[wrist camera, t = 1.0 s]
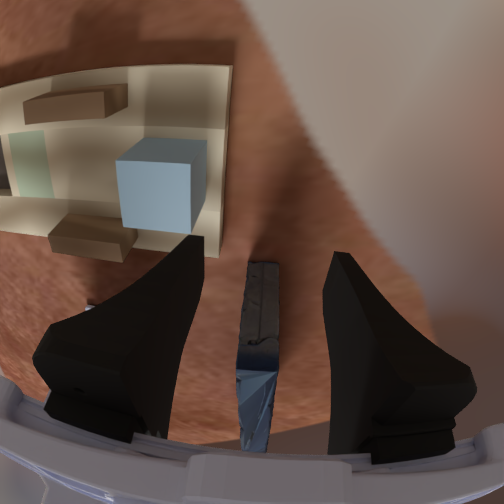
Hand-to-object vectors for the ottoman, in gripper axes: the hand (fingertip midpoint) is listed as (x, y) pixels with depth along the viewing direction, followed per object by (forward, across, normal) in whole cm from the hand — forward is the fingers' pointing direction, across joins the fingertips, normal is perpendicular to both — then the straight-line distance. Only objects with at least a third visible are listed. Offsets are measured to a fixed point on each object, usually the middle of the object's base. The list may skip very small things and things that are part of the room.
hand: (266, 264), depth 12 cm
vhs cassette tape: (+10, -1, +16) cm, 19 cm away
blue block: (+8, +6, 0) cm, 10 cm away
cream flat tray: (+10, +15, 0) cm, 18 cm away
